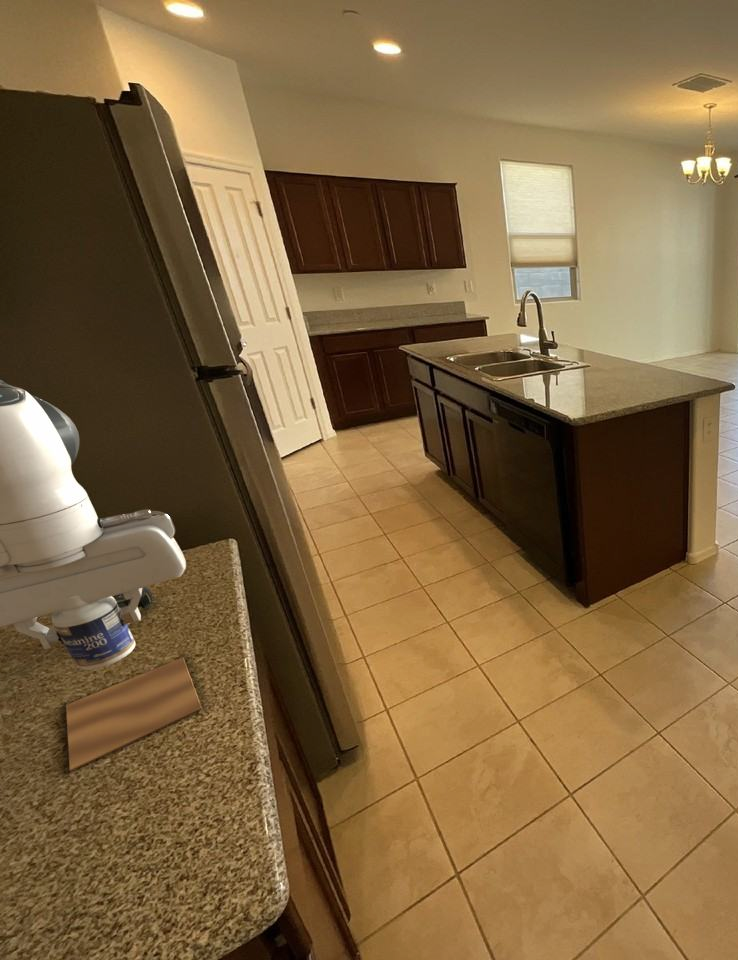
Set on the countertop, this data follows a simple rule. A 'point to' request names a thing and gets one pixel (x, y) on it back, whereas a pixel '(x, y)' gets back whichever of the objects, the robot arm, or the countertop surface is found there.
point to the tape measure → (143, 602)
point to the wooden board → (129, 711)
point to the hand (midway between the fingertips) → (95, 632)
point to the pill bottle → (93, 632)
